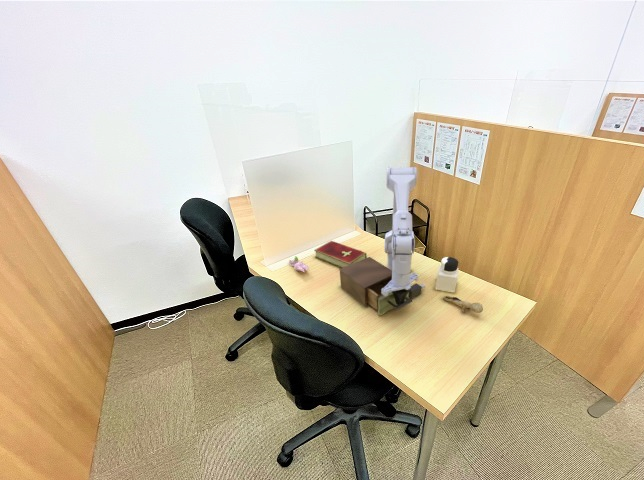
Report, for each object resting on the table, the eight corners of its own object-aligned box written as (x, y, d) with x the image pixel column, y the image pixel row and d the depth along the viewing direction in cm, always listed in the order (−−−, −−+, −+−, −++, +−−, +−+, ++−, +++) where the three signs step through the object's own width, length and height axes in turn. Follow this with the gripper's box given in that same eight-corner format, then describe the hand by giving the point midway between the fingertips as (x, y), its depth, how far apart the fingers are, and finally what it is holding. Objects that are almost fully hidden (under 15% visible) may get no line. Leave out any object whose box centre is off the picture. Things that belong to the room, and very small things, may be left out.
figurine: (441, 305, 106) (479, 318, 95) (441, 294, 104) (479, 307, 93) (448, 301, 108) (485, 314, 97) (447, 290, 106) (485, 302, 95)
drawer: (418, 306, 101) (419, 291, 98) (389, 323, 95) (390, 307, 91) (382, 282, 114) (382, 267, 110) (354, 295, 108) (354, 280, 104)
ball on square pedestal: (455, 282, 114) (460, 256, 107) (454, 293, 109) (459, 266, 102) (437, 279, 116) (441, 253, 109) (435, 289, 111) (439, 263, 104)
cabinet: (395, 291, 110) (396, 273, 106) (365, 307, 104) (364, 287, 99) (369, 274, 121) (369, 256, 116) (340, 287, 114) (339, 269, 109)
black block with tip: (420, 287, 112) (421, 280, 110) (426, 291, 110) (427, 283, 108) (406, 295, 108) (406, 288, 107) (411, 299, 107) (412, 291, 105)
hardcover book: (332, 247, 142) (331, 239, 139) (366, 259, 131) (366, 251, 128) (315, 257, 134) (314, 249, 132) (349, 271, 123) (349, 263, 121)
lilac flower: (286, 267, 130) (299, 277, 118) (283, 255, 127) (296, 264, 116) (299, 262, 133) (313, 272, 121) (296, 250, 130) (310, 259, 119)
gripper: (392, 284, 84) (391, 319, 92) (426, 267, 91) (422, 301, 99) (377, 274, 89) (377, 307, 97) (410, 259, 96) (408, 291, 104)
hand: (399, 303), depth 98 cm, fingers closed, pressing on drawer
